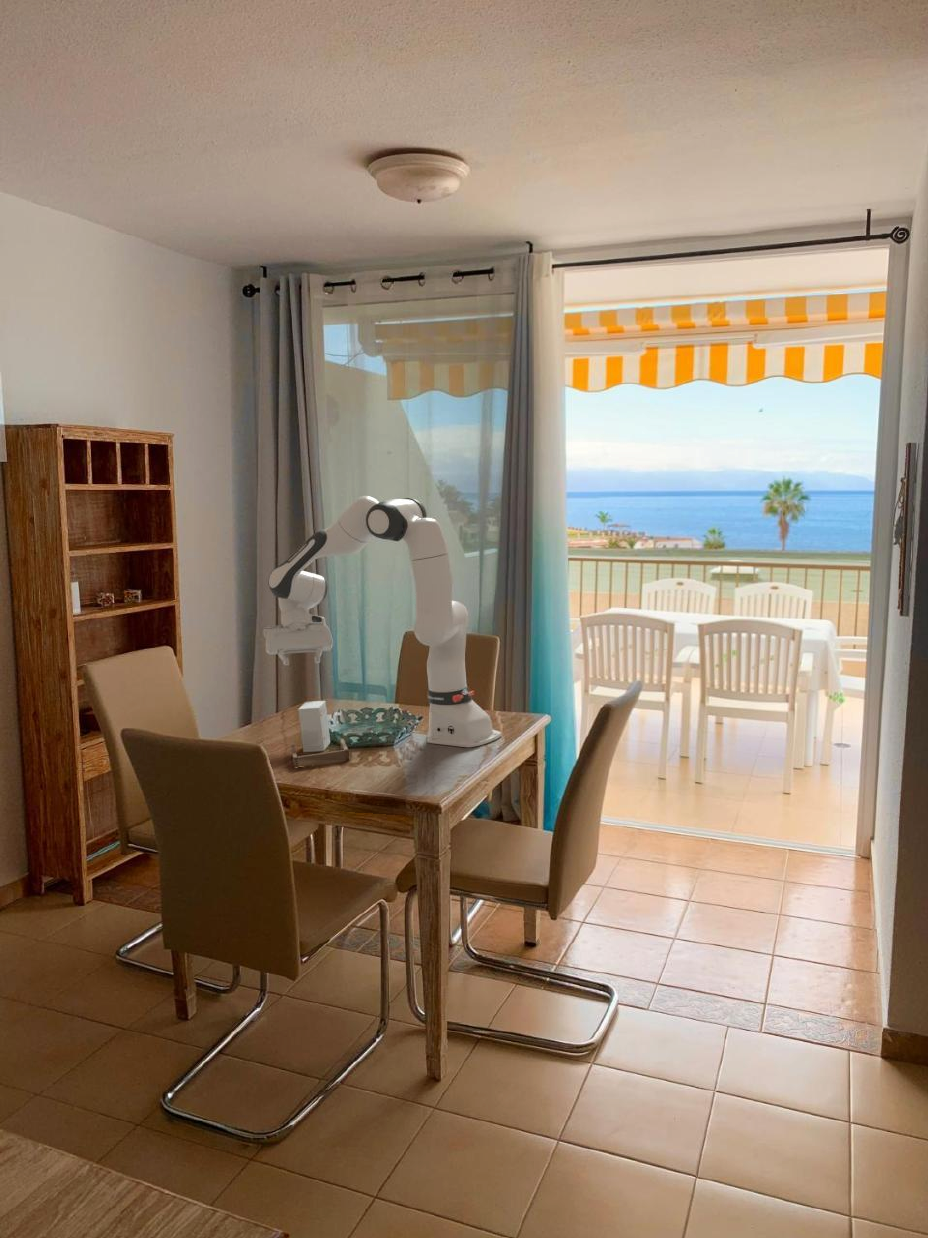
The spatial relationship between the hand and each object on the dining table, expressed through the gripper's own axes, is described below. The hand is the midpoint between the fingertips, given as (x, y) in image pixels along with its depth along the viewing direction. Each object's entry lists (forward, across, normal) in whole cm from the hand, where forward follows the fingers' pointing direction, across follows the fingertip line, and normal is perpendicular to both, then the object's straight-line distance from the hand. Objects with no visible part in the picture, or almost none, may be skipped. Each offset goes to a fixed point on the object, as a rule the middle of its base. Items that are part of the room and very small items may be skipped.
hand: (302, 663), depth 289 cm
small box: (+26, +2, +5) cm, 26 cm away
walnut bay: (+33, 0, -3) cm, 33 cm away
